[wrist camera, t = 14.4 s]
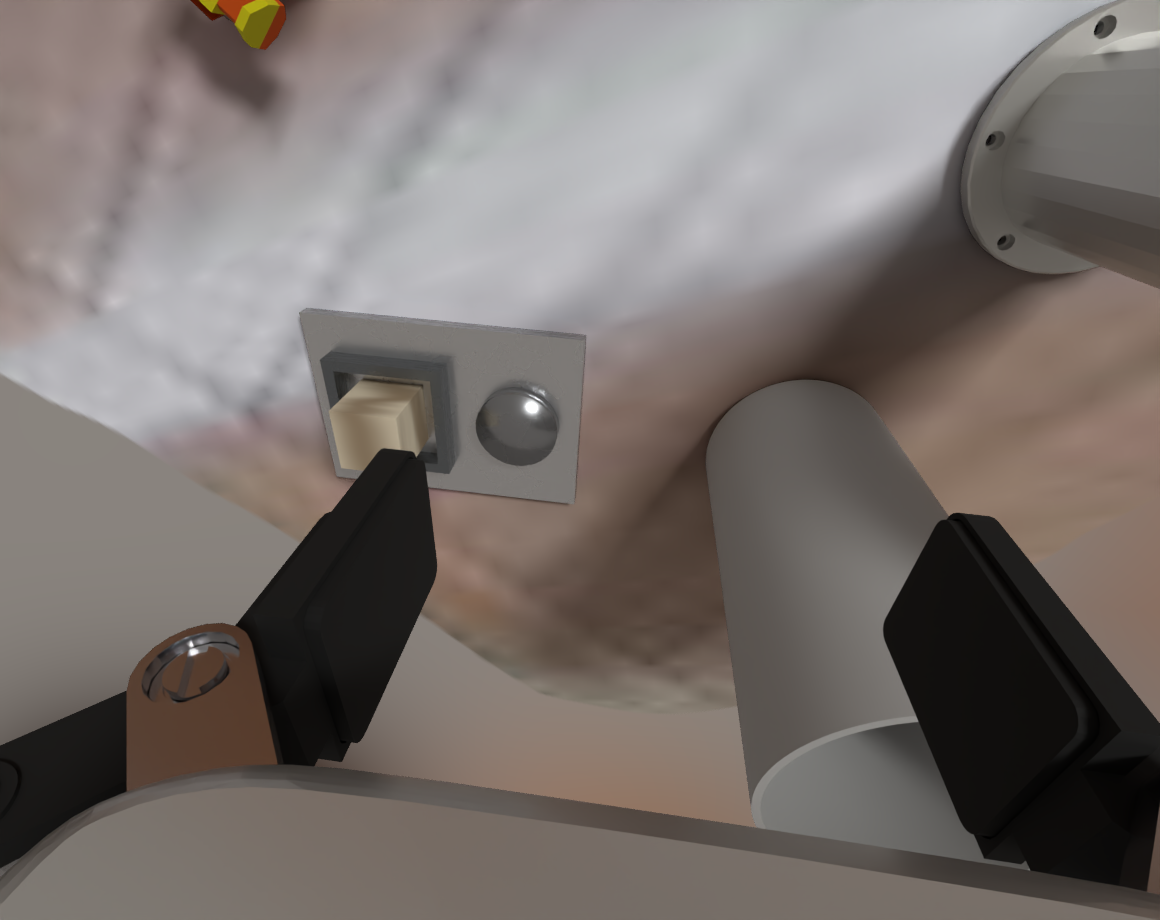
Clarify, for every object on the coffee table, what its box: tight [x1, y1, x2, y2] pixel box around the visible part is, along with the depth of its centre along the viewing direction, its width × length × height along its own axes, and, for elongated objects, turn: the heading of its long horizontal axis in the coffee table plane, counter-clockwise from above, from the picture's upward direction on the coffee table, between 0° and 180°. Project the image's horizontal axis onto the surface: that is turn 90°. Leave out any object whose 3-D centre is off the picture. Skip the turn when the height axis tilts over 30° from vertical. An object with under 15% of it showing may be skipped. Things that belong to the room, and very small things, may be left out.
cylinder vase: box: [706, 380, 1030, 871], centre depth 31 cm, size 12×12×25 cm
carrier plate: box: [299, 308, 586, 504], centre depth 42 cm, size 20×14×2 cm
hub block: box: [329, 379, 429, 471], centre depth 40 cm, size 5×5×5 cm
